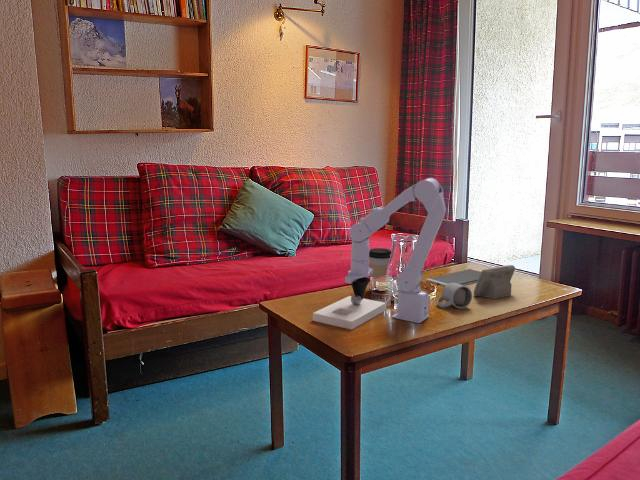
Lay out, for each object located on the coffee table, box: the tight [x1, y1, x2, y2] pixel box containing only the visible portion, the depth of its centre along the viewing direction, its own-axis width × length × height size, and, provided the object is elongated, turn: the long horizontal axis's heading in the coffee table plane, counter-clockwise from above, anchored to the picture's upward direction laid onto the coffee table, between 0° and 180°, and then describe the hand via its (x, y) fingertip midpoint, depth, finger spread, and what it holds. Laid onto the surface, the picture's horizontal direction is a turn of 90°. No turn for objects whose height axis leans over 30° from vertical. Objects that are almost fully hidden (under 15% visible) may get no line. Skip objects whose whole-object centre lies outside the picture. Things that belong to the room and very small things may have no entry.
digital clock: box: [473, 264, 516, 300], centre depth 194 cm, size 16×9×11 cm, turn 108°
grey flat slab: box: [426, 268, 481, 288], centre depth 216 cm, size 13×27×2 cm, turn 126°
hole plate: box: [312, 295, 387, 330], centre depth 172 cm, size 14×22×2 cm, turn 146°
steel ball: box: [351, 294, 362, 305], centre depth 175 cm, size 4×4×4 cm
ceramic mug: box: [436, 283, 473, 310], centre depth 182 cm, size 11×8×8 cm
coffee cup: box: [369, 247, 392, 279], centre depth 200 cm, size 9×9×15 cm
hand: (358, 299), depth 177 cm, fingers closed
